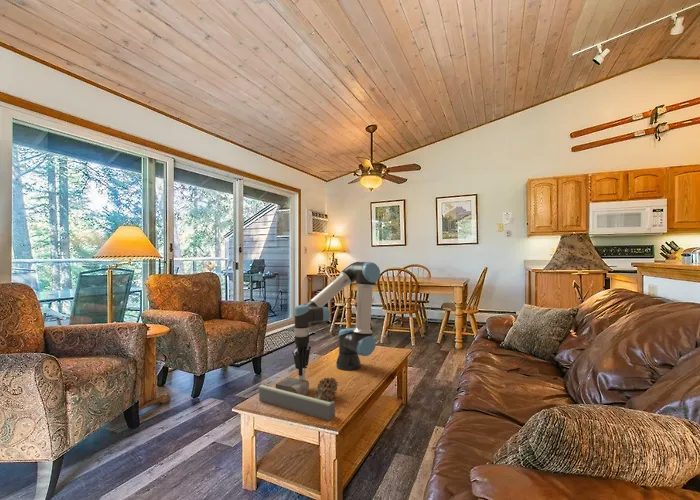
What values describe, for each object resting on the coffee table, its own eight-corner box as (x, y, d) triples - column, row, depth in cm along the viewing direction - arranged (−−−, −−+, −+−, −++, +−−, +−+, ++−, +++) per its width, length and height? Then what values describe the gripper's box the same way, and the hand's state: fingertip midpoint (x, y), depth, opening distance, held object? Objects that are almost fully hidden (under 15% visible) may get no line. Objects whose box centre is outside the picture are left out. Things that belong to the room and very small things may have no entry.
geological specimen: (287, 376, 173) (311, 379, 166) (288, 388, 173) (312, 392, 166) (274, 383, 164) (299, 386, 157) (274, 395, 163) (299, 400, 156)
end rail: (266, 396, 159) (266, 382, 159) (334, 415, 140) (334, 399, 140) (259, 400, 155) (258, 386, 155) (328, 420, 136) (328, 404, 136)
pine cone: (324, 392, 164) (324, 372, 164) (341, 395, 160) (341, 375, 160) (300, 411, 144) (300, 388, 144) (318, 415, 140) (318, 392, 140)
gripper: (299, 339, 163) (299, 386, 162) (315, 333, 174) (315, 378, 174) (288, 337, 166) (288, 384, 166) (303, 332, 178) (303, 375, 177)
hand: (301, 381), depth 170 cm, fingers closed
